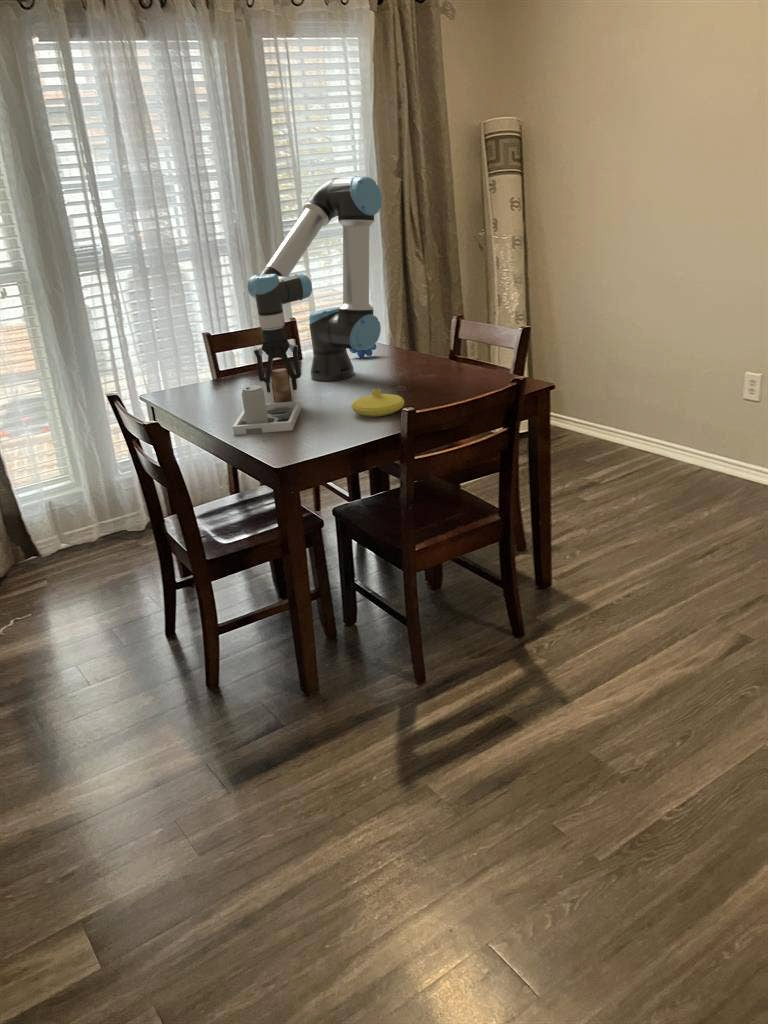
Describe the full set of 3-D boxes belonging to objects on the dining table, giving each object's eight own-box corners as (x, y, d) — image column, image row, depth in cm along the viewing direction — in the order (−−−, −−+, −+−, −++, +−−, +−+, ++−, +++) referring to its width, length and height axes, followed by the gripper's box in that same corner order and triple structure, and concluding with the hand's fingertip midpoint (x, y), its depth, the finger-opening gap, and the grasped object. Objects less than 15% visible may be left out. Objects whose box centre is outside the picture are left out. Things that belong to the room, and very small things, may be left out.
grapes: (345, 361, 322) (341, 329, 317) (347, 357, 328) (344, 325, 324) (376, 359, 321) (373, 326, 316) (378, 354, 327) (375, 323, 322)
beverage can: (247, 425, 256) (241, 385, 252) (269, 422, 257) (263, 383, 252) (246, 431, 250) (239, 391, 246) (268, 429, 251) (262, 388, 246)
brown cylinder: (294, 401, 274) (289, 367, 270) (292, 406, 269) (287, 372, 265) (277, 403, 274) (271, 369, 270) (274, 408, 269) (269, 374, 265)
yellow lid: (354, 407, 264) (351, 385, 261) (405, 403, 263) (403, 380, 260) (350, 423, 249) (348, 399, 246) (405, 418, 248) (403, 395, 245)
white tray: (301, 408, 268) (300, 400, 267) (292, 430, 247) (291, 422, 246) (247, 413, 269) (246, 405, 268) (233, 435, 248) (232, 426, 247)
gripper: (304, 322, 265) (314, 395, 274) (245, 327, 266) (256, 400, 275) (301, 327, 258) (311, 401, 267) (240, 332, 259) (252, 407, 268)
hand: (283, 400), depth 271 cm, fingers closed on brown cylinder, 6 cm apart
